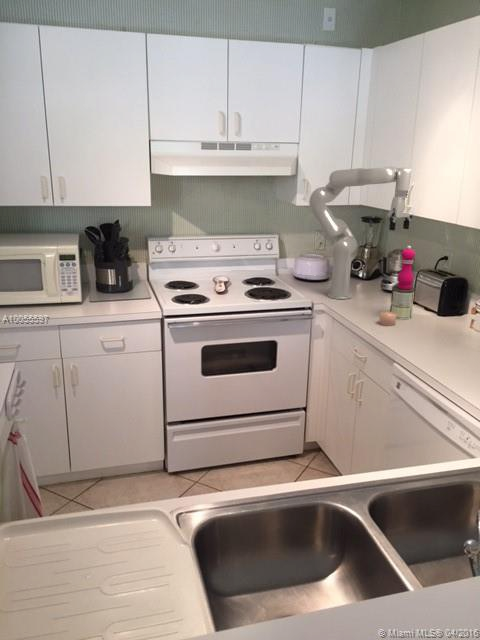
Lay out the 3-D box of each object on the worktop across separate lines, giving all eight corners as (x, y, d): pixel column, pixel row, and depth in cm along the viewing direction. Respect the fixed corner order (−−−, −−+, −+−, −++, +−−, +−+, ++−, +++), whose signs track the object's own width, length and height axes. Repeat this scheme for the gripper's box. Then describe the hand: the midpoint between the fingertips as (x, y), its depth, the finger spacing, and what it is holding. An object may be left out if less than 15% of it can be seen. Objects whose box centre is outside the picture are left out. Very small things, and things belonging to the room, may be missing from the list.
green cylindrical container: (385, 313, 257) (388, 285, 253) (404, 312, 259) (407, 284, 255) (395, 320, 248) (398, 291, 243) (415, 319, 250) (419, 290, 246)
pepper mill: (412, 290, 245) (417, 247, 239) (396, 289, 246) (401, 246, 240) (412, 286, 251) (416, 244, 245) (396, 285, 253) (400, 244, 247)
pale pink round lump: (376, 323, 244) (377, 312, 242) (386, 320, 247) (388, 310, 246) (387, 327, 238) (388, 316, 236) (398, 324, 241) (399, 314, 240)
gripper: (409, 193, 265) (405, 227, 270) (384, 194, 257) (380, 229, 262) (421, 194, 259) (417, 229, 264) (396, 195, 251) (392, 231, 256)
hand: (399, 229), depth 263 cm, fingers open, 9 cm apart
